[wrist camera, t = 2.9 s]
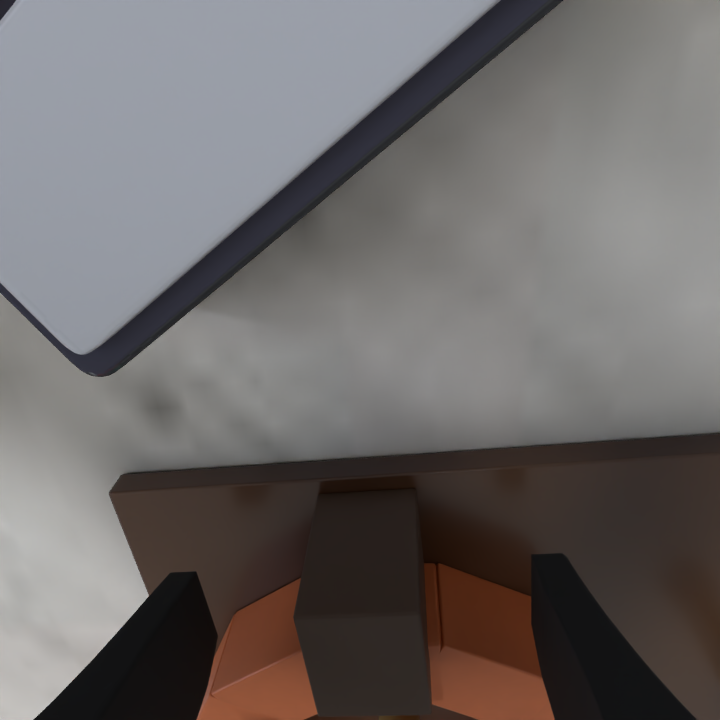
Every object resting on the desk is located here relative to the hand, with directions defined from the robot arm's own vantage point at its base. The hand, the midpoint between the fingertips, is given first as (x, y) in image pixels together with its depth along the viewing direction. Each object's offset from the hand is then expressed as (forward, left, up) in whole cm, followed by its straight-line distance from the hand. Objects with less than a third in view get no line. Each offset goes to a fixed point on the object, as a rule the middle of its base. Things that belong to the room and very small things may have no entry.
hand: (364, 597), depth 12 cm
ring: (0, +6, -2) cm, 6 cm away
